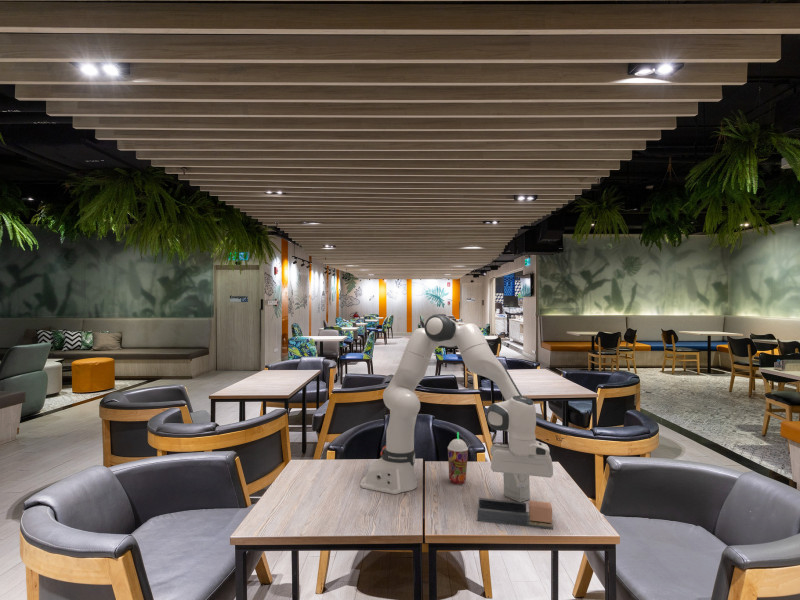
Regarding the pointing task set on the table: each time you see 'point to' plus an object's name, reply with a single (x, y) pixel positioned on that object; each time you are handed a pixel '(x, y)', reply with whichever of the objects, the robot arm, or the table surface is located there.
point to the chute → (507, 513)
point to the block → (540, 511)
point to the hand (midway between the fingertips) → (521, 487)
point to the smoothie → (457, 460)
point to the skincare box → (516, 488)
